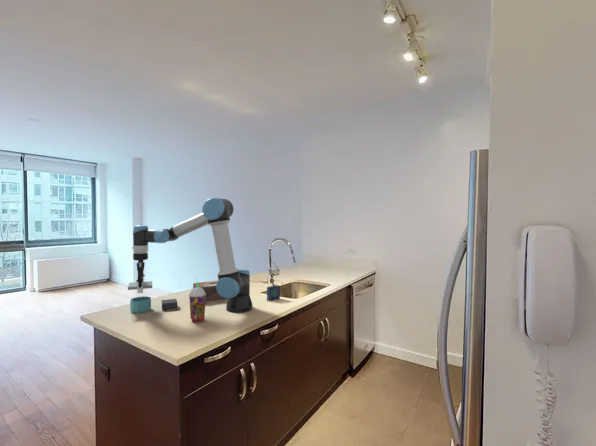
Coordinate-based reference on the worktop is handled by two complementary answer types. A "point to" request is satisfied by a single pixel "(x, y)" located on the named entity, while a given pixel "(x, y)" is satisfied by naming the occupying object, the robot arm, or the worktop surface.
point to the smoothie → (197, 304)
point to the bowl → (140, 304)
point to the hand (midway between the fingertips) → (140, 290)
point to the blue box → (273, 292)
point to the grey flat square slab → (145, 285)
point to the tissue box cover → (209, 290)
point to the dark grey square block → (169, 304)
